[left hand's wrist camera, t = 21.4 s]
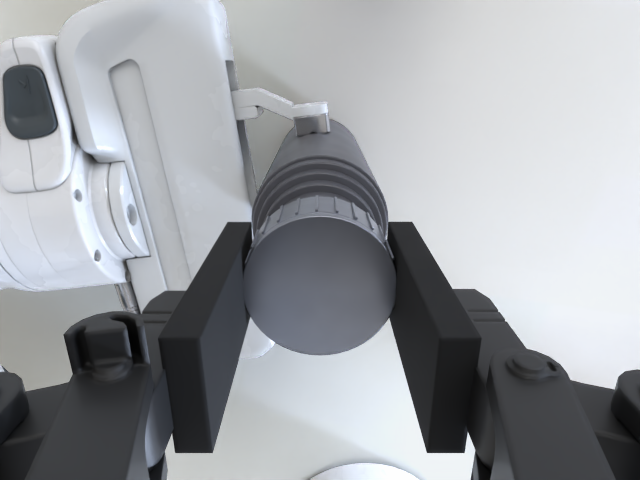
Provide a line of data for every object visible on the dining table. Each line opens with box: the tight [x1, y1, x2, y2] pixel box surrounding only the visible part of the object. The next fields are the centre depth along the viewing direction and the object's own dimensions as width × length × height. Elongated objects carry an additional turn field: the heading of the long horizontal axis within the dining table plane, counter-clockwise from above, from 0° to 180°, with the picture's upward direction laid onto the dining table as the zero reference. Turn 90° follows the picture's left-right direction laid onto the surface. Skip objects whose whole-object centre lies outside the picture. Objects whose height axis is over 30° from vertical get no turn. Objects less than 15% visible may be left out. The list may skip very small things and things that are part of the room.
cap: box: [243, 195, 397, 355], centre depth 14 cm, size 4×4×2 cm
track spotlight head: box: [251, 119, 388, 240], centre depth 22 cm, size 6×6×19 cm
